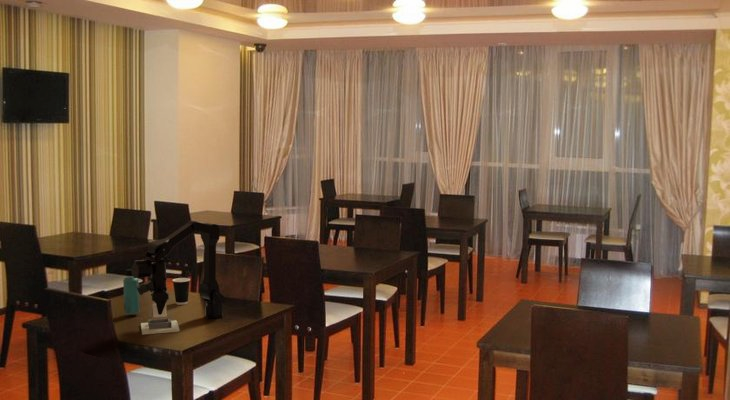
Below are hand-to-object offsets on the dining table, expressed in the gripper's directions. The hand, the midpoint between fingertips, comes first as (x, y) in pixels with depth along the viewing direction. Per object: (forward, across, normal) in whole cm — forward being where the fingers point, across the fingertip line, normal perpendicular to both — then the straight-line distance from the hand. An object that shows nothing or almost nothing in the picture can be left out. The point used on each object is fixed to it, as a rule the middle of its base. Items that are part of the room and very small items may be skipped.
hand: (159, 313), depth 298 cm
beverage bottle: (+6, -25, -10) cm, 28 cm away
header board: (+6, 0, 0) cm, 6 cm away
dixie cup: (+6, -41, +12) cm, 43 cm away
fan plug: (+1, 0, 0) cm, 1 cm away
